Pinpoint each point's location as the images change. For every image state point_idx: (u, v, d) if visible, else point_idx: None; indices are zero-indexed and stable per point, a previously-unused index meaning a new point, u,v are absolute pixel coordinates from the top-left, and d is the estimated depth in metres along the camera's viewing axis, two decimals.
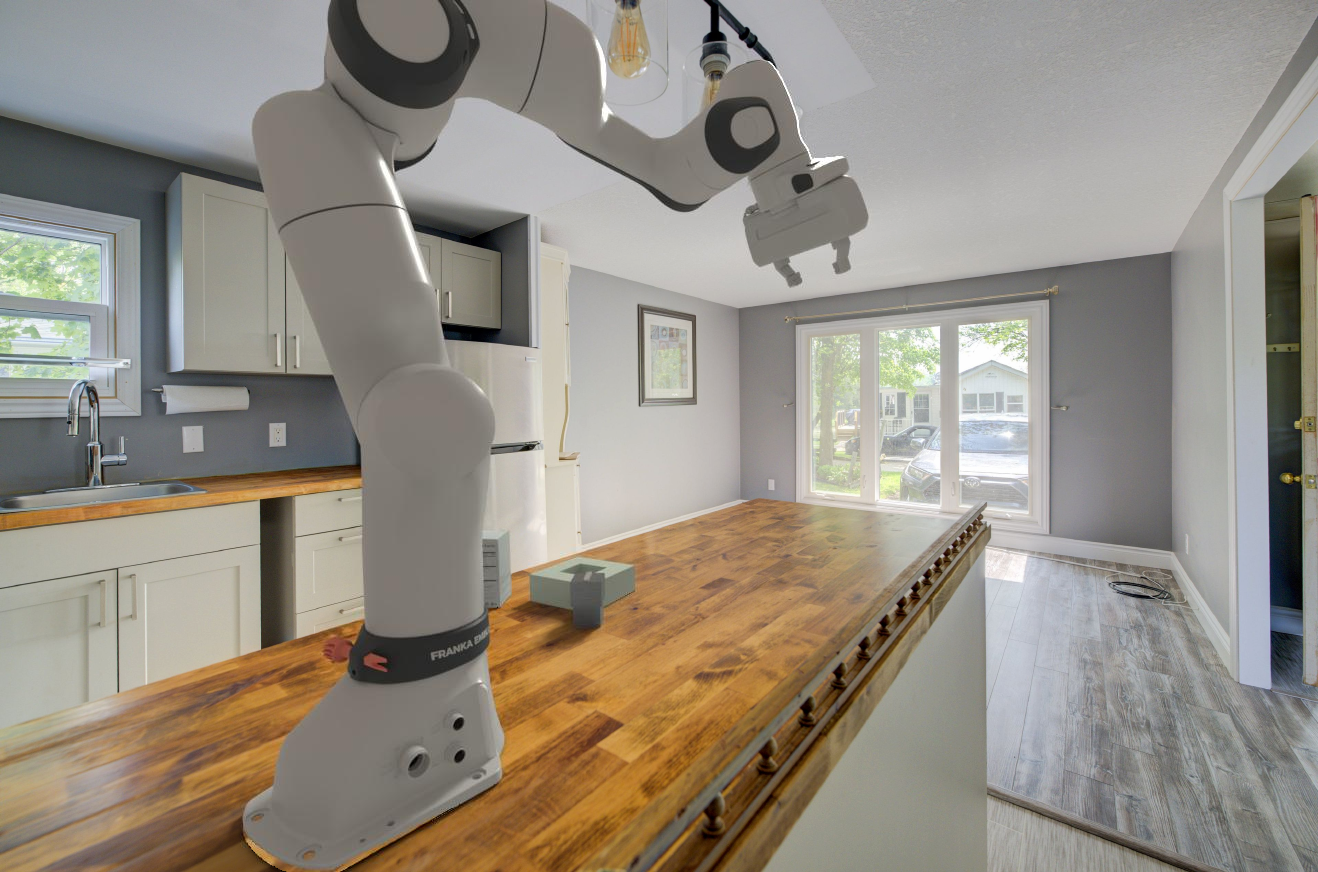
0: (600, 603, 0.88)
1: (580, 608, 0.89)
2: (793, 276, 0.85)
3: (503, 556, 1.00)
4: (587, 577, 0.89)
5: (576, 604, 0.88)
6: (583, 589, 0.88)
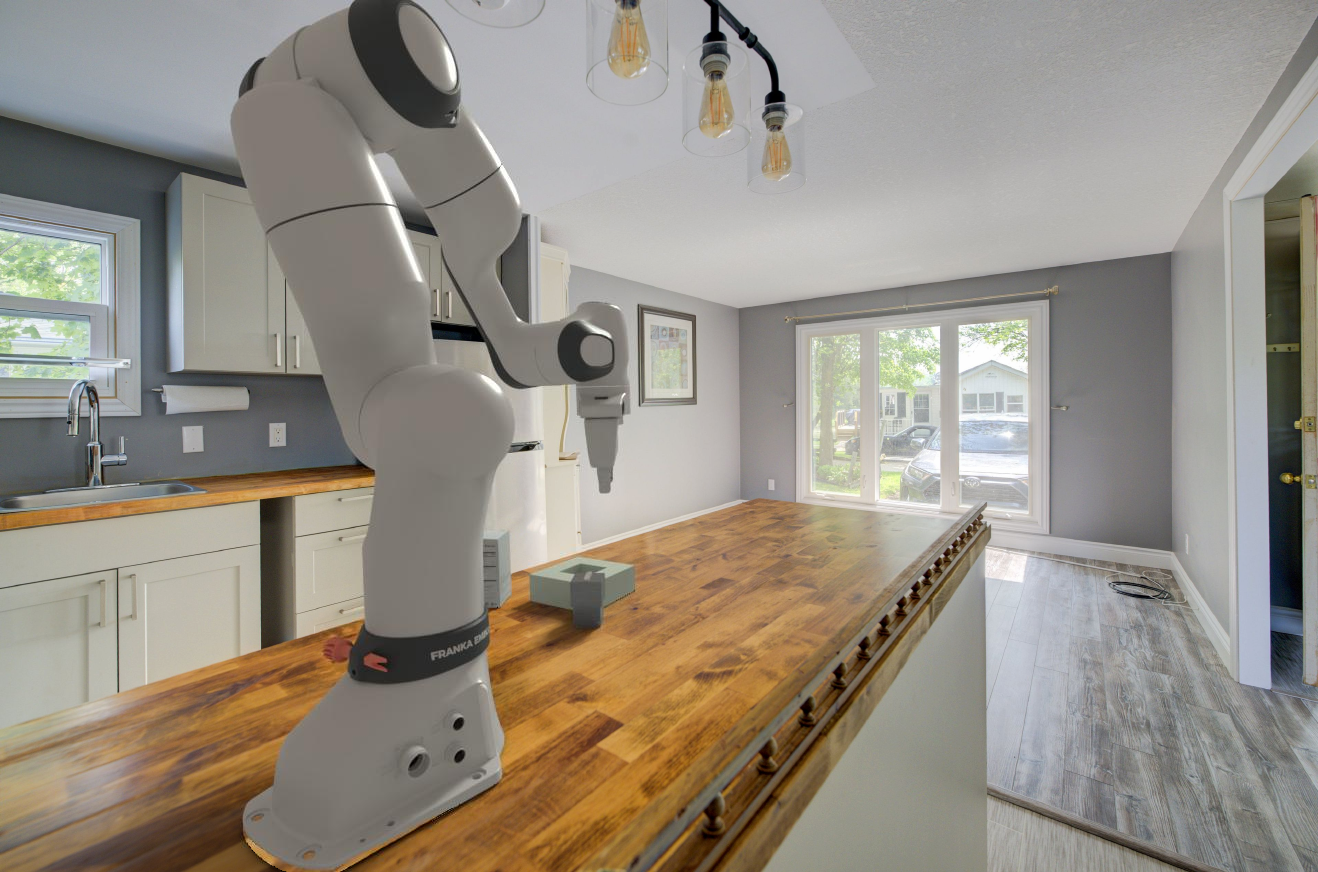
0: (600, 603, 0.88)
1: (580, 608, 0.89)
2: None
3: (503, 556, 1.00)
4: (587, 577, 0.89)
5: (576, 604, 0.89)
6: (583, 589, 0.88)
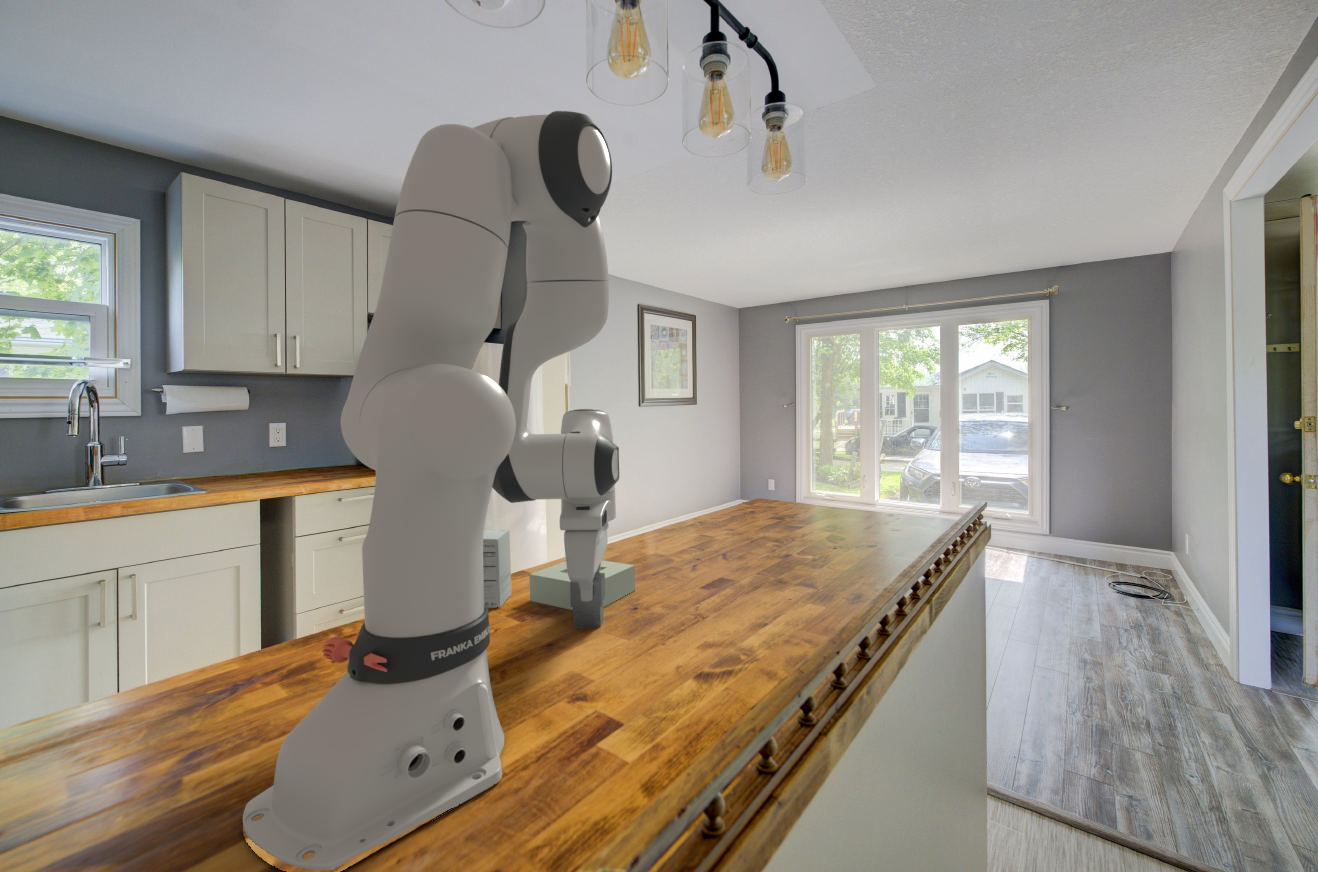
0: (600, 603, 0.88)
1: (580, 608, 0.89)
2: None
3: (503, 556, 1.00)
4: None
5: (576, 604, 0.88)
6: None
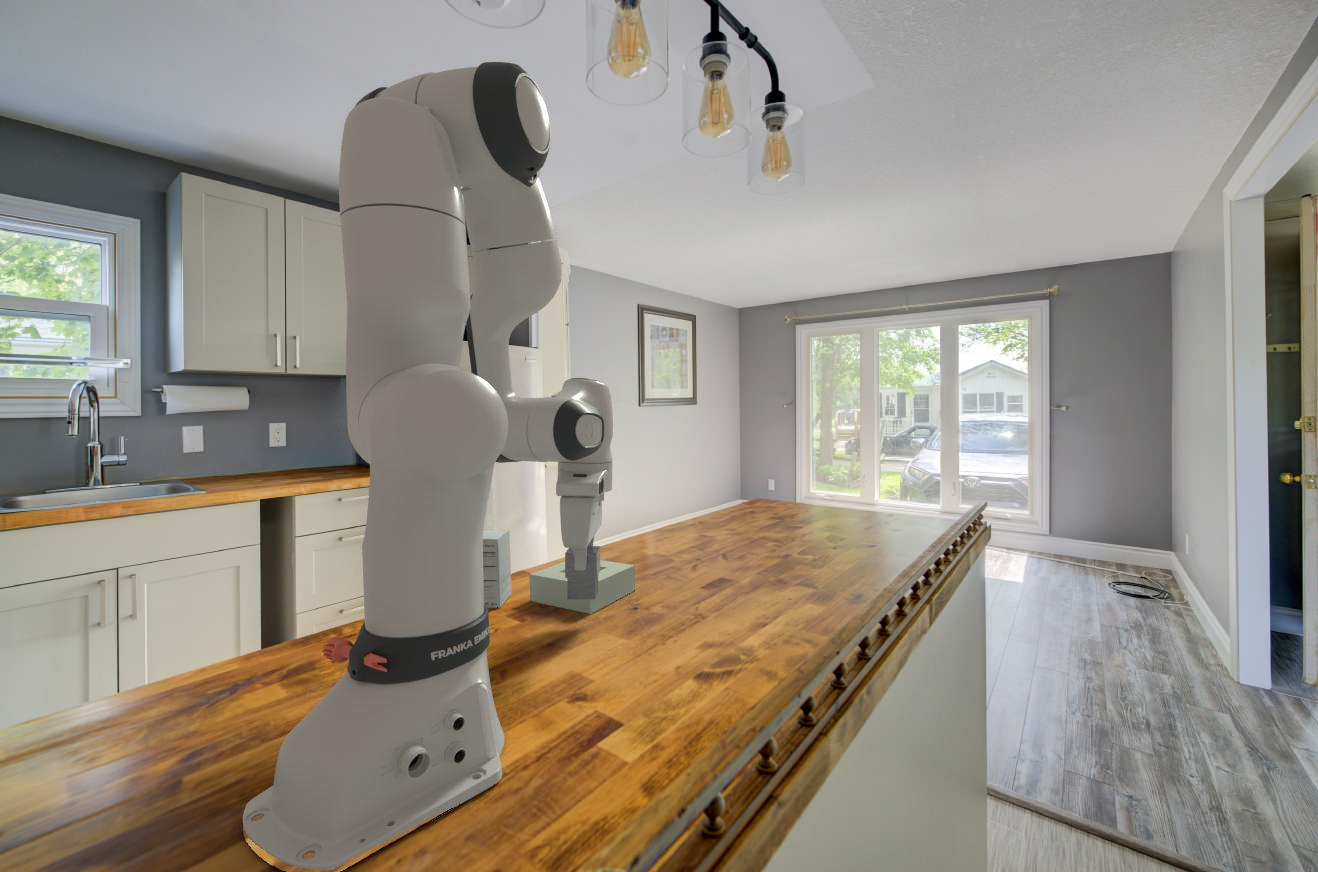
0: (595, 575, 0.88)
1: (574, 580, 0.88)
2: None
3: (503, 556, 1.00)
4: None
5: (571, 575, 0.88)
6: None
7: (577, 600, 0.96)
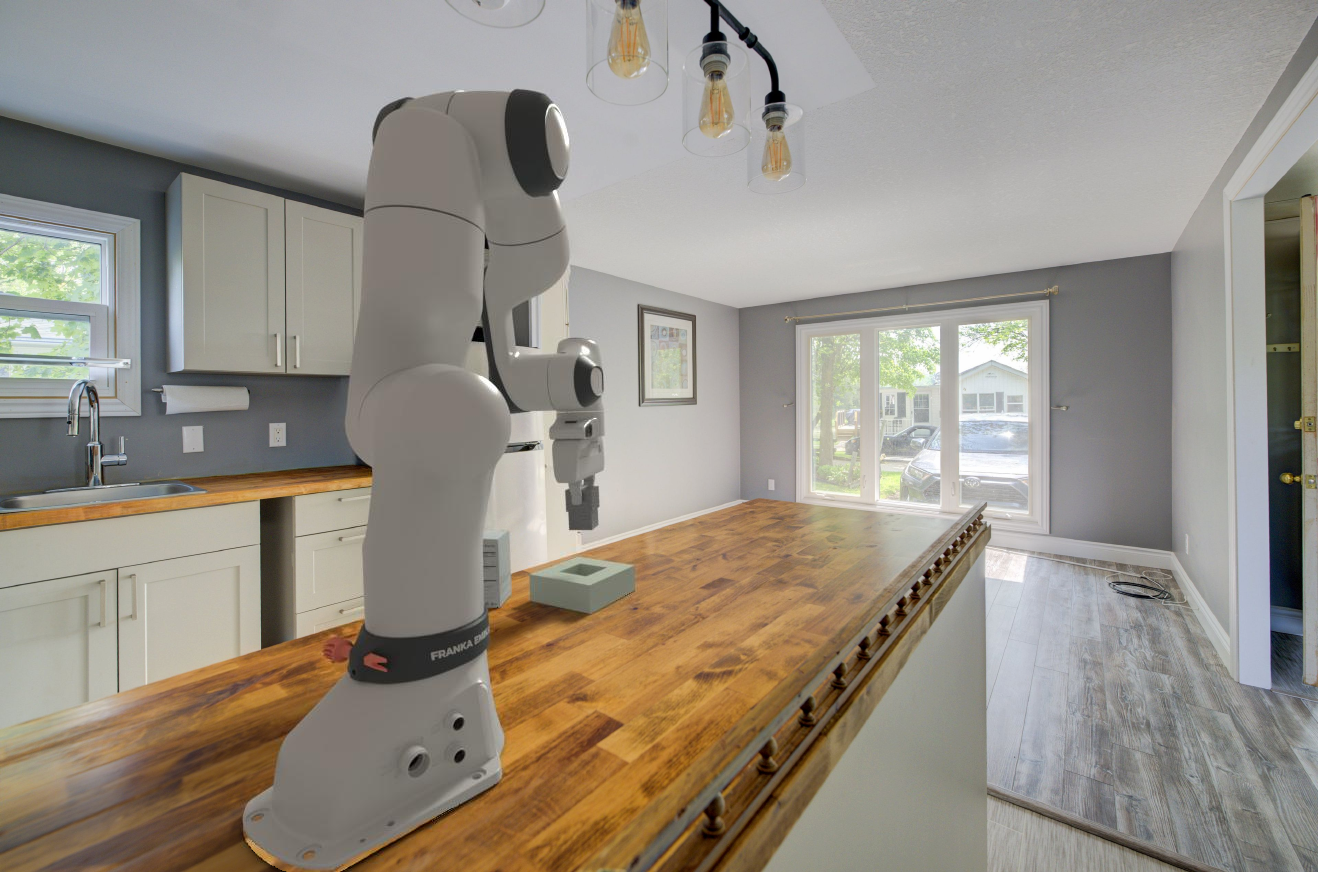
0: (591, 508, 1.01)
1: (574, 513, 1.02)
2: None
3: (503, 556, 1.00)
4: None
5: (570, 509, 1.01)
6: None
7: (577, 600, 0.96)
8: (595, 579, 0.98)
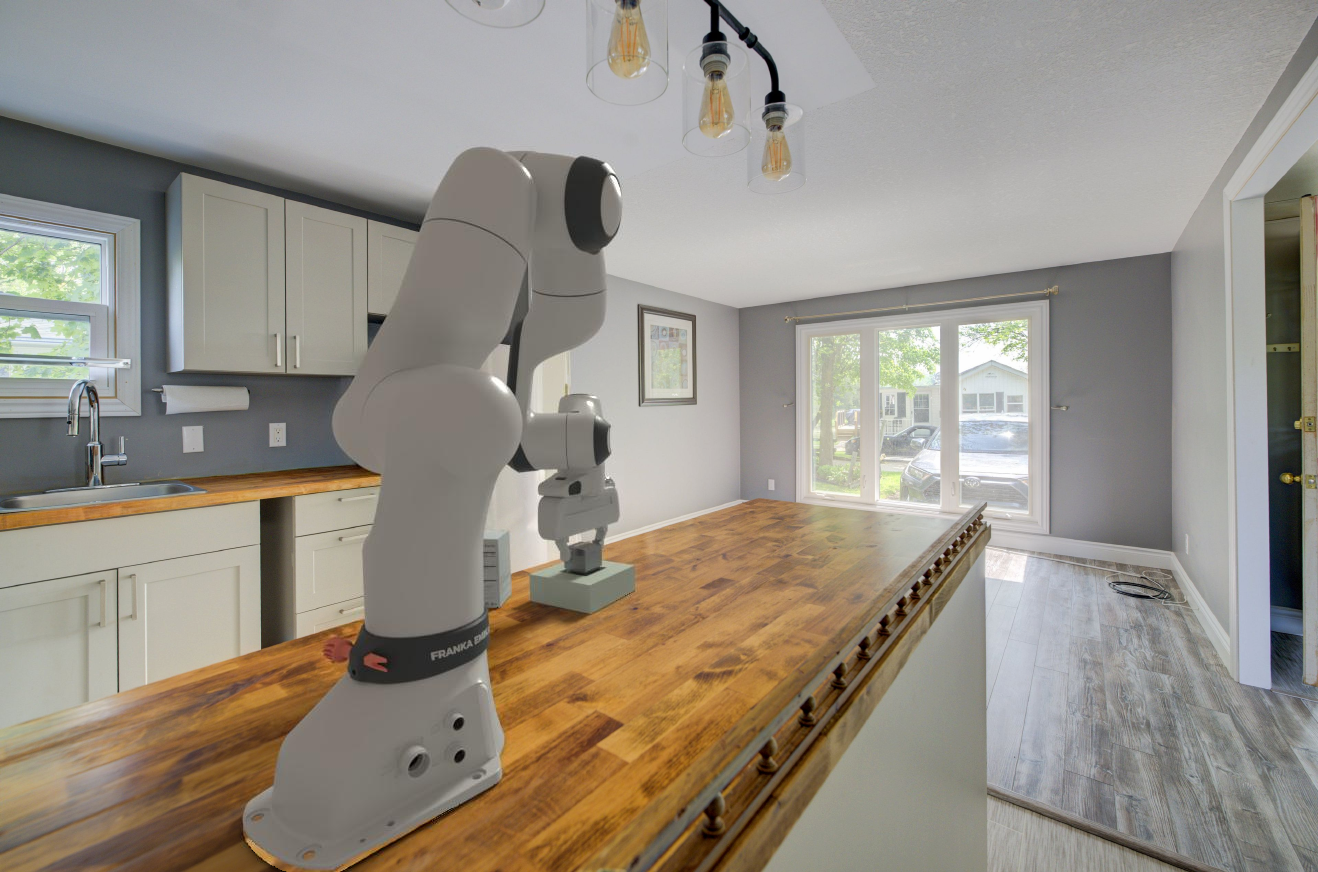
0: (584, 568, 1.01)
1: (571, 571, 1.03)
2: (593, 541, 1.08)
3: (503, 556, 1.00)
4: (578, 545, 1.02)
5: (568, 566, 1.03)
6: None
7: (577, 600, 0.96)
8: (595, 579, 0.98)
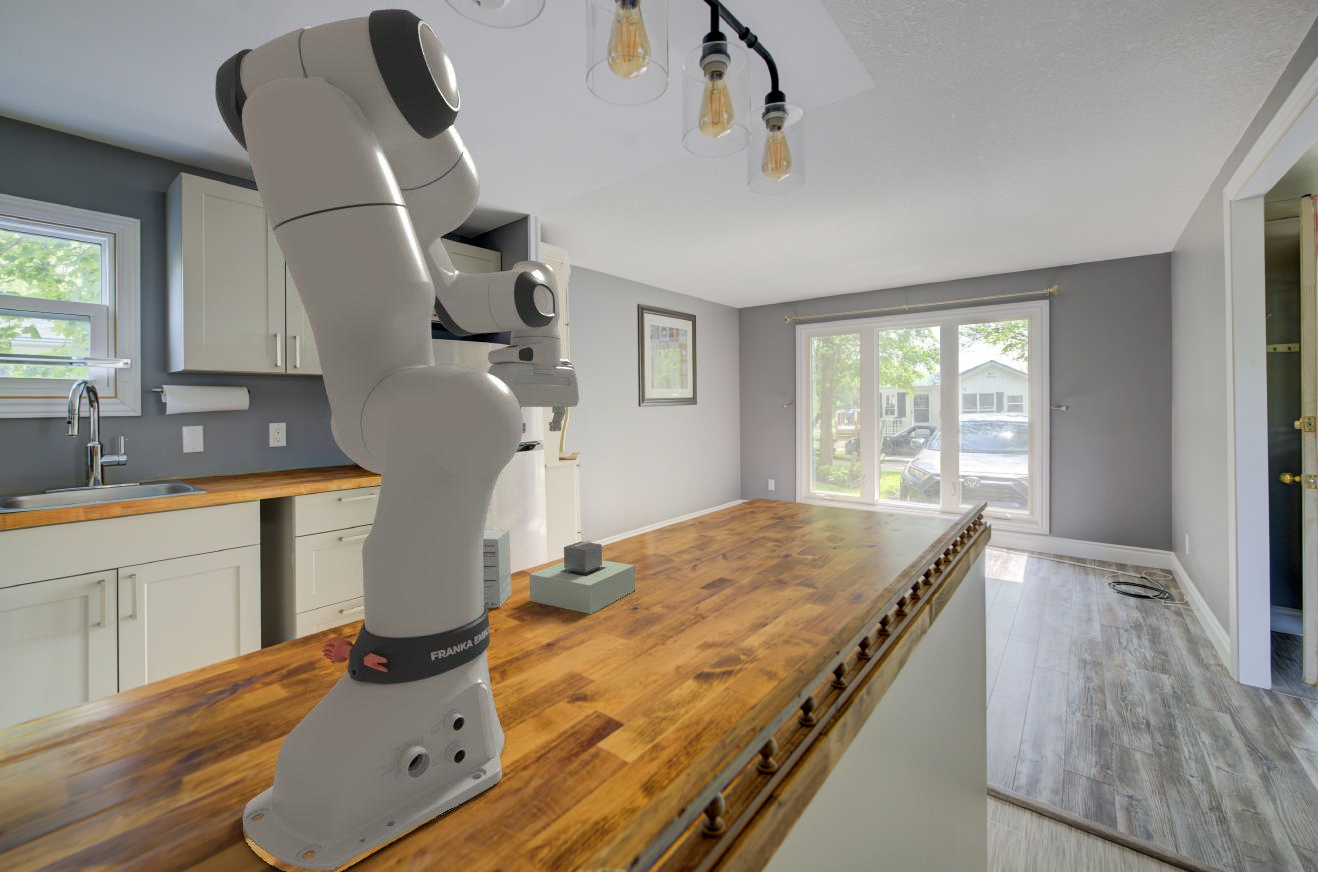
0: (584, 568, 1.01)
1: (571, 571, 1.03)
2: (550, 423, 1.04)
3: (503, 556, 1.01)
4: (578, 545, 1.02)
5: (568, 566, 1.03)
6: (572, 554, 1.02)
7: (577, 600, 0.96)
8: (595, 579, 0.98)
